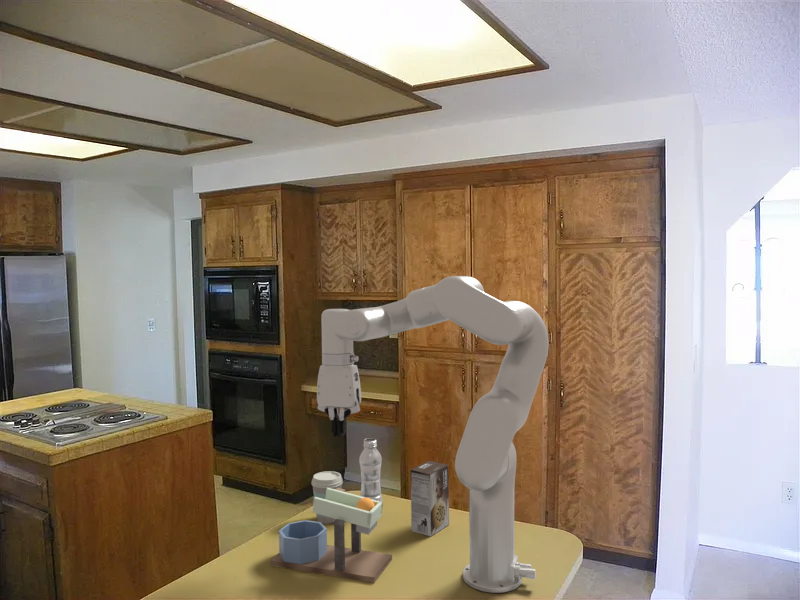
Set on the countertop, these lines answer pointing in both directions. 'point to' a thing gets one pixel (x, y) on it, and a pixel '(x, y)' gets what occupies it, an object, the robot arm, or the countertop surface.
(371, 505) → the orange ball
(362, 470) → the plastic bottle
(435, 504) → the coffee box
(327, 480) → the coffee cup
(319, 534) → the blue cup
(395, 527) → the countertop surface
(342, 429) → the robot arm
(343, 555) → the stand
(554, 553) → the countertop surface
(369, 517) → the tipping tray
